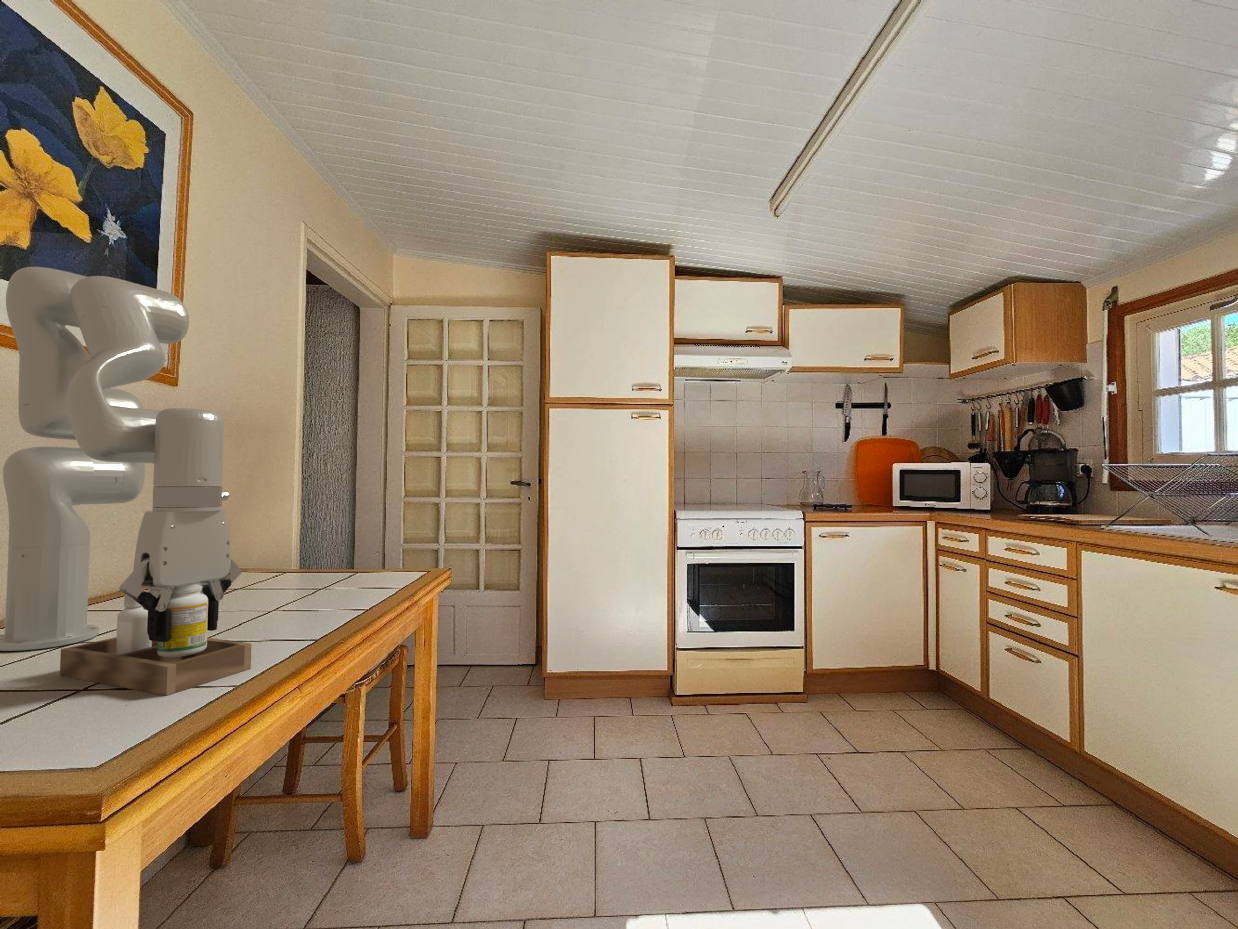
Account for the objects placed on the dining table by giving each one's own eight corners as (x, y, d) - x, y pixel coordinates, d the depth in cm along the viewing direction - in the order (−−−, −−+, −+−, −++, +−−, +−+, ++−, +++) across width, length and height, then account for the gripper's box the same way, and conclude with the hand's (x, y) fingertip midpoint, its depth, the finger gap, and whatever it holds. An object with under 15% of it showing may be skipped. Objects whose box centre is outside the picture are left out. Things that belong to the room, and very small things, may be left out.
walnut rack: (59, 675, 77) (60, 649, 77) (149, 653, 88) (150, 629, 88) (166, 695, 70) (167, 666, 70) (250, 668, 81) (251, 643, 81)
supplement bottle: (203, 654, 76) (205, 581, 77) (152, 660, 74) (154, 585, 74) (209, 644, 81) (211, 576, 81) (162, 649, 79) (164, 579, 79)
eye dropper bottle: (106, 676, 77) (110, 586, 78) (118, 664, 82) (121, 580, 82) (148, 671, 79) (151, 583, 80) (157, 660, 84) (160, 577, 85)
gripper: (229, 498, 87) (226, 619, 87) (95, 501, 71) (89, 649, 71) (266, 499, 85) (262, 623, 84) (135, 502, 69) (130, 655, 68)
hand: (184, 633), depth 77 cm, fingers closed on supplement bottle, 5 cm apart
